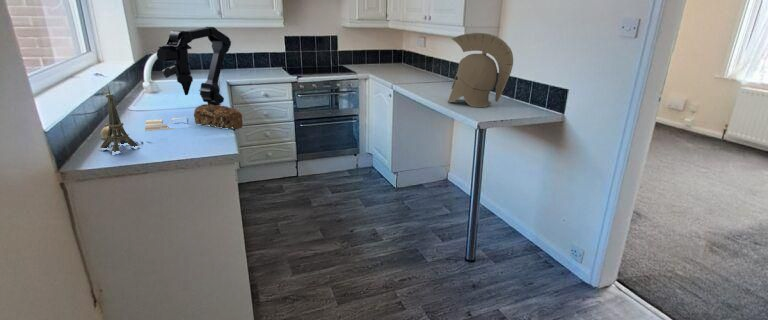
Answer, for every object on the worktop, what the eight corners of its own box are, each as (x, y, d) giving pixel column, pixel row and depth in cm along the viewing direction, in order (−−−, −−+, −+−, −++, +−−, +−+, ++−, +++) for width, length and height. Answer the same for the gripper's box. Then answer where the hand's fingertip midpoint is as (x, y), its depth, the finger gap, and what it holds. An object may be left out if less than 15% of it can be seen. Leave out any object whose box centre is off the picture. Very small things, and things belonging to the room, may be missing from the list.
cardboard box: (146, 129, 188) (145, 125, 188) (188, 125, 195) (188, 122, 195) (145, 134, 181) (144, 131, 180) (189, 130, 188) (189, 127, 187)
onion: (125, 136, 178) (122, 120, 175) (125, 142, 171) (122, 124, 169) (102, 139, 174) (99, 122, 172) (101, 144, 168) (98, 127, 165)
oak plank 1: (146, 123, 195) (145, 120, 195) (162, 122, 198) (161, 119, 198) (146, 128, 189) (145, 125, 188) (162, 127, 192) (162, 124, 191)
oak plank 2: (172, 121, 200) (171, 118, 199) (187, 120, 203) (187, 117, 202) (172, 126, 193) (172, 123, 193) (188, 125, 196) (188, 122, 195)
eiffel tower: (114, 155, 156) (100, 86, 148) (97, 150, 161) (83, 83, 152) (142, 148, 165) (130, 82, 156) (125, 143, 170) (113, 79, 161)
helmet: (452, 98, 269) (457, 30, 255) (510, 104, 254) (519, 34, 241) (441, 104, 252) (446, 32, 238) (503, 111, 237) (512, 35, 224)
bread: (194, 128, 193) (191, 105, 189) (212, 122, 202) (210, 101, 199) (227, 133, 186) (225, 110, 183) (244, 127, 195) (242, 105, 192)
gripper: (161, 58, 197) (166, 92, 203) (161, 63, 182) (167, 100, 187) (188, 57, 202) (192, 90, 207) (190, 62, 186) (195, 98, 192)
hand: (186, 94), depth 198 cm, fingers closed
